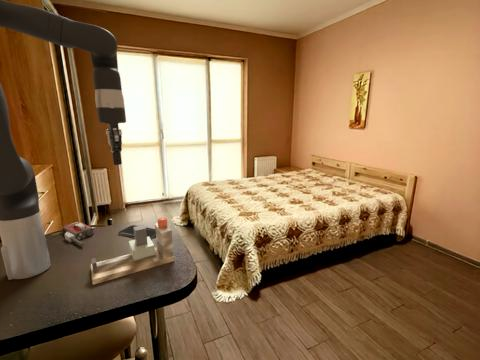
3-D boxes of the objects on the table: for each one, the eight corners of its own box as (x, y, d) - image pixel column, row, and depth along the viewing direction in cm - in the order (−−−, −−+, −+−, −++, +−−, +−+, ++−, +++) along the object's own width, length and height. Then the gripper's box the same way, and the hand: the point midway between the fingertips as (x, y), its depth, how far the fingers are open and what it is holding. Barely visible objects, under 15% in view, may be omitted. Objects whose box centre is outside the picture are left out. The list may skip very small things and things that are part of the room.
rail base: (92, 284, 68) (87, 250, 65) (91, 268, 75) (86, 237, 73) (174, 260, 79) (172, 230, 77) (166, 248, 86) (163, 221, 84)
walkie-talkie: (55, 235, 98) (79, 249, 87) (53, 224, 97) (77, 237, 86) (80, 227, 105) (105, 239, 94) (78, 217, 104) (103, 228, 93)
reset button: (159, 229, 78) (158, 221, 77) (157, 225, 80) (156, 218, 79) (168, 226, 79) (168, 219, 78) (166, 223, 81) (165, 216, 81)
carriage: (133, 260, 73) (130, 234, 71) (129, 249, 79) (126, 225, 77) (155, 254, 76) (152, 229, 74) (149, 245, 82) (147, 221, 80)
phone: (148, 238, 92) (117, 232, 97) (148, 241, 92) (117, 235, 98) (162, 230, 99) (132, 224, 104) (162, 232, 99) (132, 227, 105)
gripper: (95, 107, 79) (102, 162, 83) (97, 105, 68) (106, 169, 72) (121, 107, 83) (127, 160, 87) (127, 105, 72) (134, 166, 76)
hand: (117, 164), depth 79 cm, fingers closed
